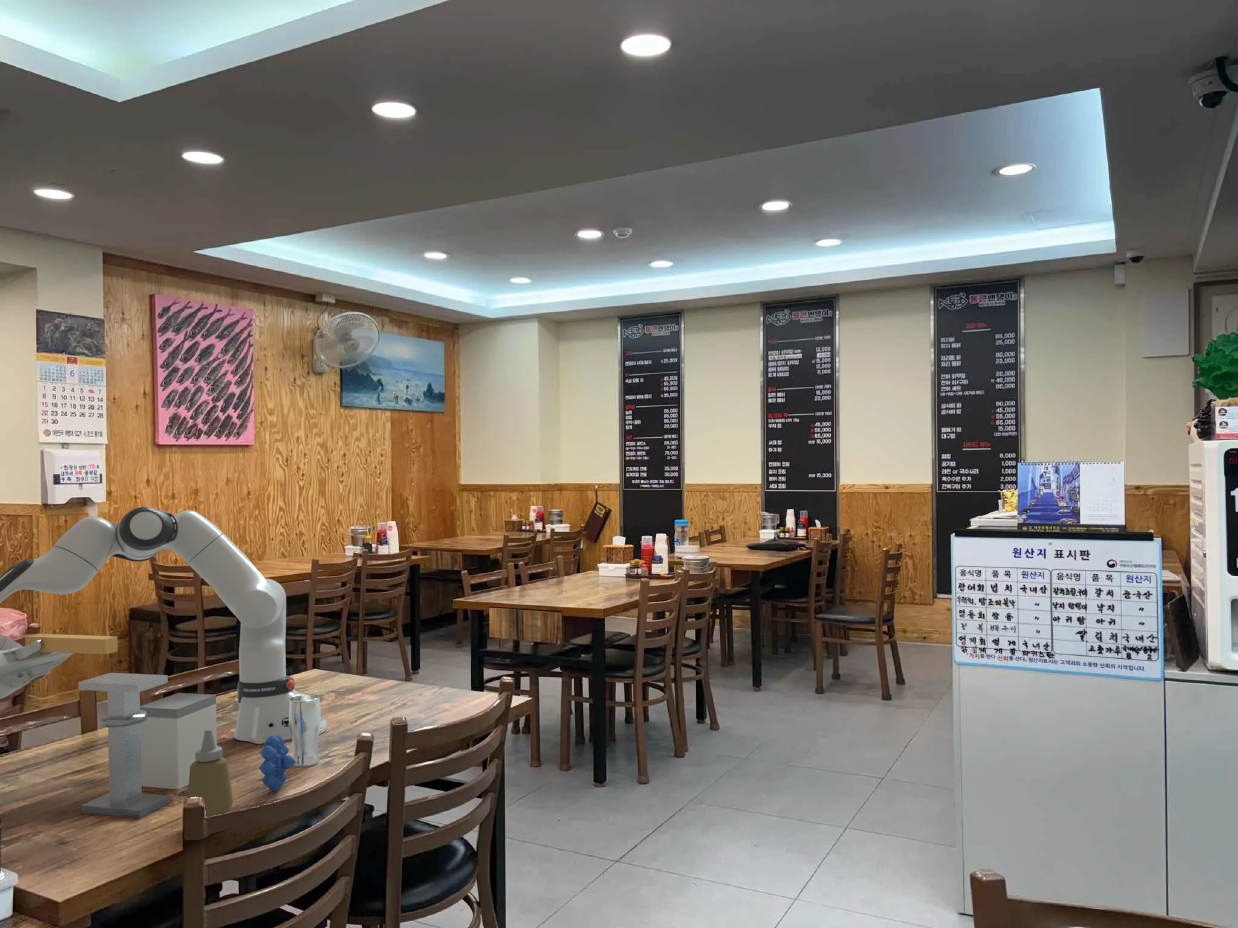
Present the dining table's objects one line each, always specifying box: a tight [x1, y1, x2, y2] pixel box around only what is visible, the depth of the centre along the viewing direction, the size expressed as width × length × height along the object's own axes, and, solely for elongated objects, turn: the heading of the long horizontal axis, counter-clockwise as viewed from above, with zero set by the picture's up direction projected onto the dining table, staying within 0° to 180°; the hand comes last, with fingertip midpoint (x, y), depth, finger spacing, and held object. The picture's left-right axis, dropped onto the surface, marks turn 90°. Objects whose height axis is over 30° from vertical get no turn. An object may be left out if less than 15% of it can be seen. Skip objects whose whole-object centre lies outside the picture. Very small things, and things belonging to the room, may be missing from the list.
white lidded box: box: [140, 692, 218, 790], centre depth 195 cm, size 10×12×17 cm
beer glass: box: [289, 693, 322, 768], centre depth 203 cm, size 7×7×15 cm
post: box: [77, 672, 171, 819], centre depth 178 cm, size 14×8×26 cm, turn 76°
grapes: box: [258, 735, 295, 792], centre depth 186 cm, size 12×7×12 cm, turn 2°
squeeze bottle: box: [186, 730, 234, 817], centre depth 168 cm, size 8×8×18 cm
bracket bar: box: [24, 633, 119, 655], centre depth 181 cm, size 20×3×3 cm, turn 76°
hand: (50, 640), depth 182 cm, fingers closed on bracket bar, 3 cm apart
